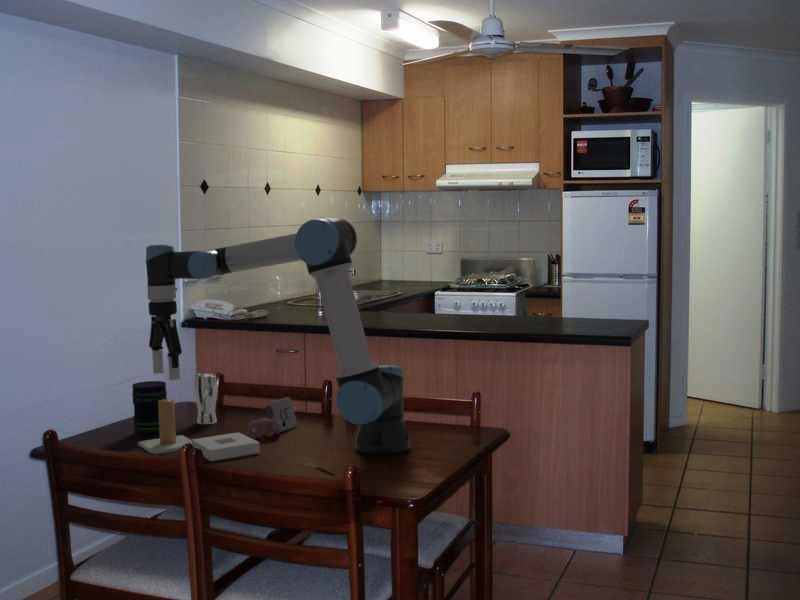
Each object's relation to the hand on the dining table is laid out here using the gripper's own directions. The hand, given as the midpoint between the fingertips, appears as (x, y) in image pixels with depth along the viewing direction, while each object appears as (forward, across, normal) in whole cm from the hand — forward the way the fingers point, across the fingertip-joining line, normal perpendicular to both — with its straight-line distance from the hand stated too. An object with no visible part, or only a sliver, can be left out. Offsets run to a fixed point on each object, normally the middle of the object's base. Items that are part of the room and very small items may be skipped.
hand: (166, 376), depth 261 cm
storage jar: (+20, +18, -1) cm, 27 cm away
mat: (+20, 0, 0) cm, 20 cm away
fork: (+21, -45, -24) cm, 55 cm away
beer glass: (+20, +22, -20) cm, 36 cm away
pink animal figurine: (+21, -5, -26) cm, 34 cm away
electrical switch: (+20, 0, -35) cm, 40 cm away
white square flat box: (+20, -14, -11) cm, 27 cm away
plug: (+19, 0, 0) cm, 19 cm away
